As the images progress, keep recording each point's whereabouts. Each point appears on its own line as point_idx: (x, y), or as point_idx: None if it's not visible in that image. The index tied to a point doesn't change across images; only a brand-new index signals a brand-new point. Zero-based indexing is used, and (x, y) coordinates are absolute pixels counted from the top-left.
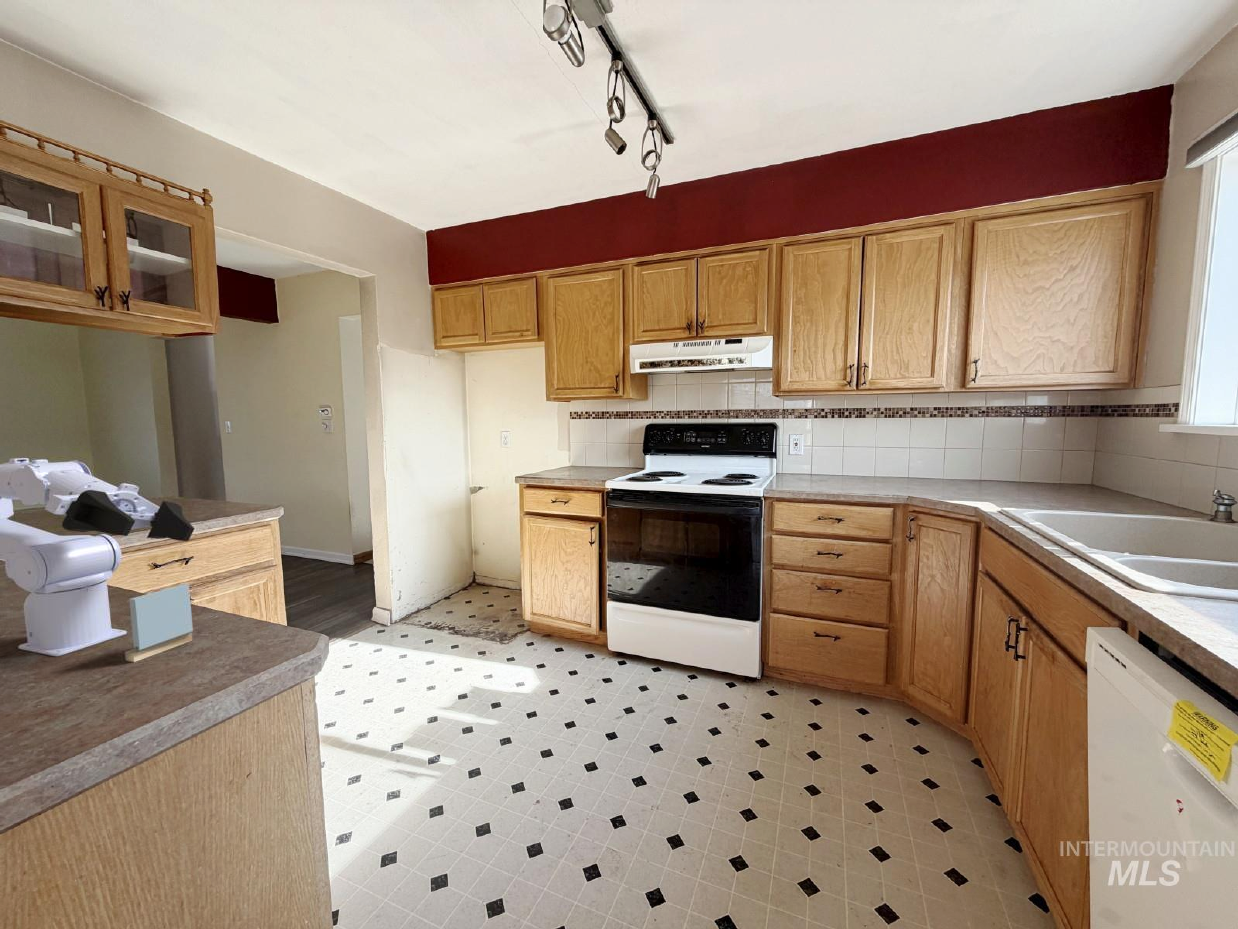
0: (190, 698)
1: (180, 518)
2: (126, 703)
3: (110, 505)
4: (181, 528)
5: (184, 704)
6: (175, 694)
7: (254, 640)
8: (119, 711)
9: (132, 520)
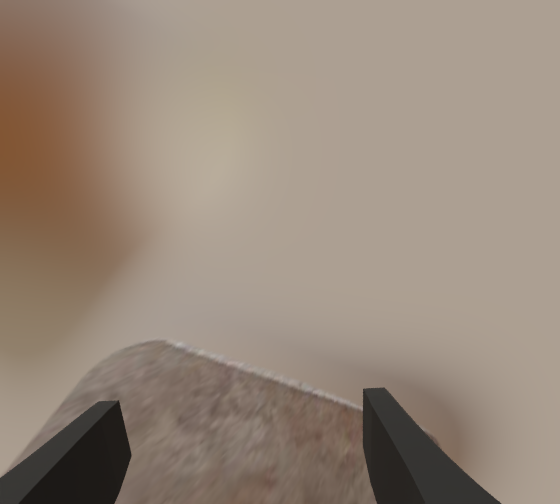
0: (298, 402)
1: (49, 465)
2: (328, 483)
3: (461, 495)
4: (99, 456)
5: (309, 398)
6: (295, 431)
7: None
8: (344, 470)
9: (374, 388)
